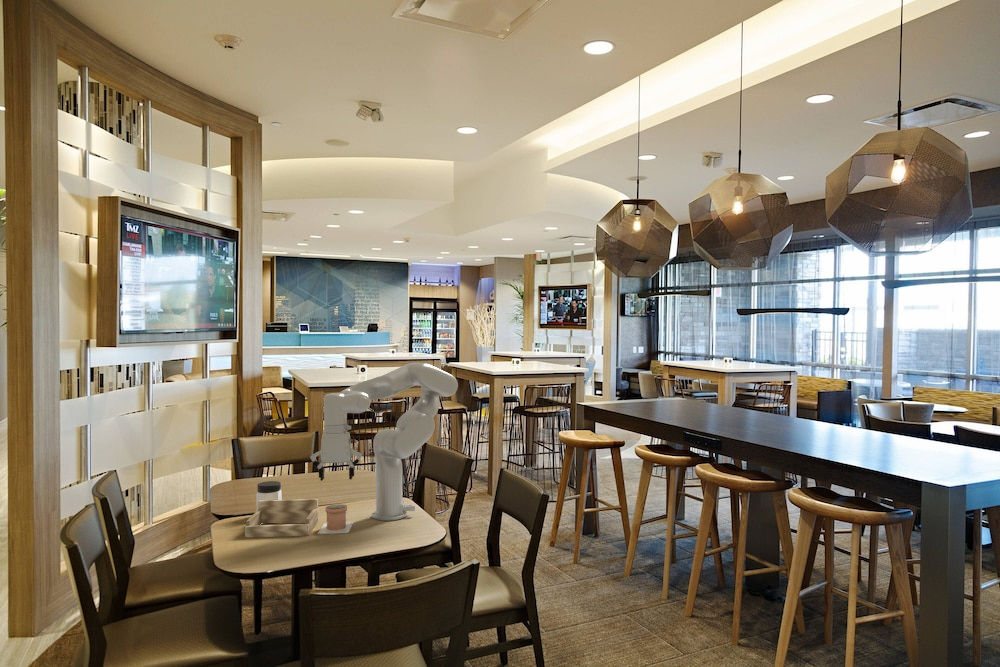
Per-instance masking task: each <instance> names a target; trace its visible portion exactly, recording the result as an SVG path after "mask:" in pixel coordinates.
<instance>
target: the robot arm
mask: <svg viewBox="0 0 1000 667" xmlns="http://www.w3.org/2000/svg"><path fill="white" fill-rule="evenodd" d="M415 386H418V387H420V389H421V391H420V397H419V399H418V401H416V403H415V404H413V405H412V406H411V407H410V408H409V409H407V411H406V412H404V413H402V415H401V416H400V417H399V418H398V419H397V422H396V429H397V430H396V429H392V428H391V429H390V428H384V429H380V430H379V431H378V432H377V433H376V434H375V436H374V438H373V442H372V446H373V452H374V459H375V501H376V502H375V505H376V506H375V508H376V510H375V511H373V512H372V513H371V518H372V519H373V520H376V521H385V522H386V521H396V520H401V519H404V518H406V517H407V515H408V512H415V511H416V506H415V505H413V504H405V501H404V500H403V461H402V459H404V460H405V459H407V458H409V457H410V456H412V455H413V454H415V453H416V452H417V451H418V450H419V449H420V448H421V447H422V446H423V445H424V444H425V443H426V442H428V440H430V438H431V437H433V434H434V433H435V430H436V429H435V428H436V422H435V420H434V417H435V416H436V415H437V413H438V411H439V404H440V397H444V398H445V397H446V398H447V397H452V396H453V395H455V394H456V393H457V391H458V388H459V387H458V386H459V383H458V380H457V378H456V377H455V376H454V375H452V374H450V373H448V372H446V371H445V370H442V369H440V368H438V367H436V366H433V365H431V364H428V363H426V362H425V363H424V362H409V363H407V364H404V365H402V366H400V367H398V368H396V369H394V370H391V371H389V372H387V373H384V374H382V375H380V376H376V377H373V378H371V379H370V378H369V379H366V380H364V381H361V382H358V383H356V384H354V385H351V386H348V387H347V388H345V389H343V390H341V391H340V392H331V393H326V394H325V395H324V397H323V420H324V421H323V423H324V424H323V425H324V428H323V429H324V430H323V432H324V433H323V432H322V435H321V442H320V443H321V444H320V450H318V451H316V452H315V453H312V455H310V456H309V458H310V460H311V461H312V464H313V465H314V466H315V467H316V468H317V469H318V479H319V478H320V480H319V481H323V480H324V479H325V468H324V465H325V464H344V463H346V464H347V465H348V466H349V468H348V476H349V477H348V480H352V479H353V477H355V466H356V465H357V464H358V463H359V462H360V461H361V458H362V456H363V453H361V452H359V451H356V450H355V449H353V448H352V439H351V435H350V432H349V430H352V425H349V424H348V421H347V416H348V414H363V413H364V412H366V411H367V410H368V409H369V408H370V406H371V401H372V400H373V401H374V400H380V399H387V398H392V397H395V396H397V395H399V394H400V393H403V392H405V391H407V390H408V389H409V390H410V389H411V388H413V387H415ZM319 456H320V462H319V461H318V460H317V457H319ZM353 456H355V457H356V458H355V459H354V461H353V460H352V457H353Z"/></svg>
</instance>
